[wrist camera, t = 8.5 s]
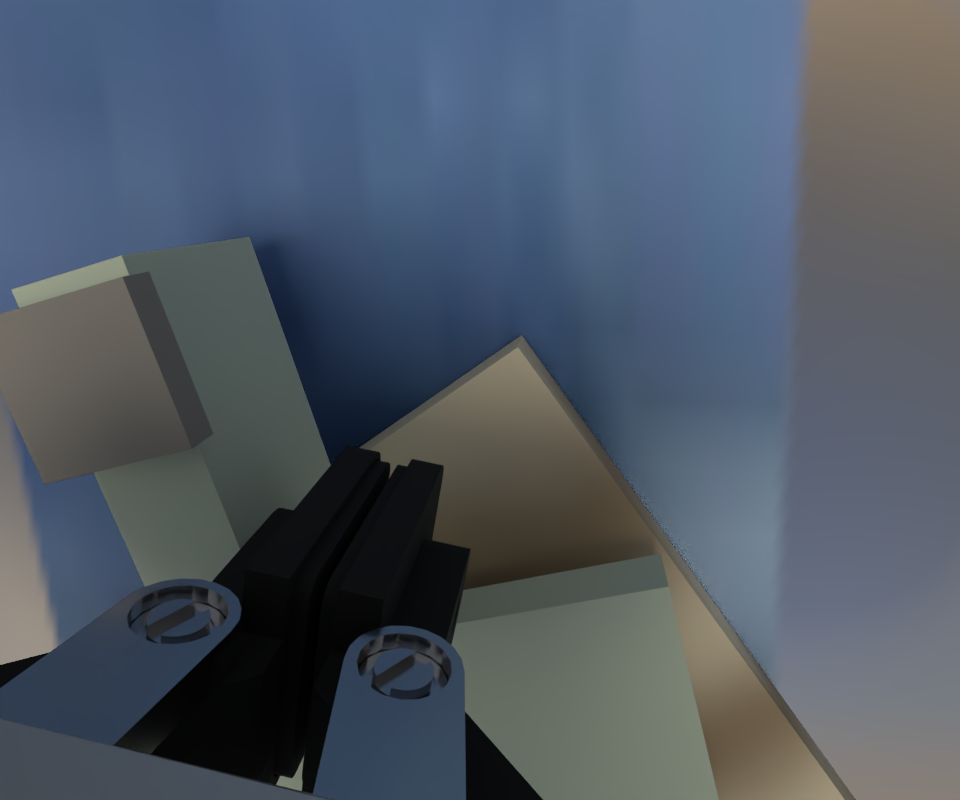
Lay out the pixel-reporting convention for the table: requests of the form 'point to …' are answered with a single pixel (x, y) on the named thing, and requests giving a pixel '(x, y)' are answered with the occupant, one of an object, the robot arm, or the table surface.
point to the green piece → (286, 481)
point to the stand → (593, 551)
